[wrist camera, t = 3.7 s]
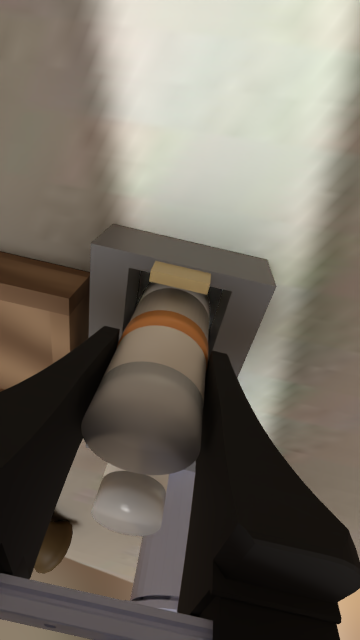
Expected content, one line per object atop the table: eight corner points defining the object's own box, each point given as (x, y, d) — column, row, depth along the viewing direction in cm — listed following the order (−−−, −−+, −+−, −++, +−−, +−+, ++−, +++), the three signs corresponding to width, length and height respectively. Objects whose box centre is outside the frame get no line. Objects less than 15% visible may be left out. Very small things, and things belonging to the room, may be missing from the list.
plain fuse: (175, 419, 23) (155, 541, 16) (129, 409, 23) (90, 526, 16) (184, 387, 21) (166, 511, 14) (134, 375, 21) (92, 494, 14)
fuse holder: (199, 435, 23) (195, 487, 20) (100, 412, 23) (80, 460, 20) (267, 259, 15) (280, 297, 12) (112, 223, 15) (81, 251, 12)
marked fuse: (202, 341, 16) (188, 486, 10) (137, 326, 16) (79, 461, 10) (219, 283, 14) (216, 415, 8) (145, 265, 14) (79, 384, 8)
